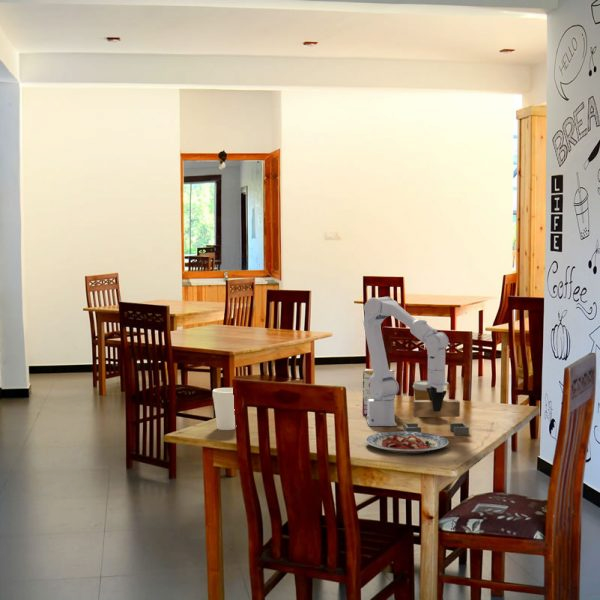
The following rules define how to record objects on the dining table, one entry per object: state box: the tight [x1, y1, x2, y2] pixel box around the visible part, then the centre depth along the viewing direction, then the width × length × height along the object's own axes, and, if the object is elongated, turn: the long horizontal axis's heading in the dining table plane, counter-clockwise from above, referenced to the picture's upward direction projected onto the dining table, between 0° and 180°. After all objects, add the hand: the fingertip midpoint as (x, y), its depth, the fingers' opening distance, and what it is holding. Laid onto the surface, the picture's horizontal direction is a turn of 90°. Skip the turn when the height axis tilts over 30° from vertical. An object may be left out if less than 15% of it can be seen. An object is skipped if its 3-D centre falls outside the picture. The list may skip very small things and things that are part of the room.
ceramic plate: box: [365, 430, 449, 454], centre depth 287 cm, size 26×26×3 cm
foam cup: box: [212, 387, 236, 431], centre depth 313 cm, size 10×9×13 cm
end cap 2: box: [449, 422, 470, 436], centre depth 307 cm, size 5×7×2 cm, turn 2°
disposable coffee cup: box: [412, 380, 431, 400], centre depth 335 cm, size 10×10×12 cm
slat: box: [412, 399, 461, 418], centre depth 306 cm, size 15×4×5 cm, turn 92°
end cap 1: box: [402, 422, 422, 432], centre depth 306 cm, size 5×7×2 cm, turn 2°
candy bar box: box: [361, 368, 395, 416], centre depth 336 cm, size 11×5×16 cm, turn 80°
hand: (435, 410), depth 306 cm, fingers closed on slat, 3 cm apart
